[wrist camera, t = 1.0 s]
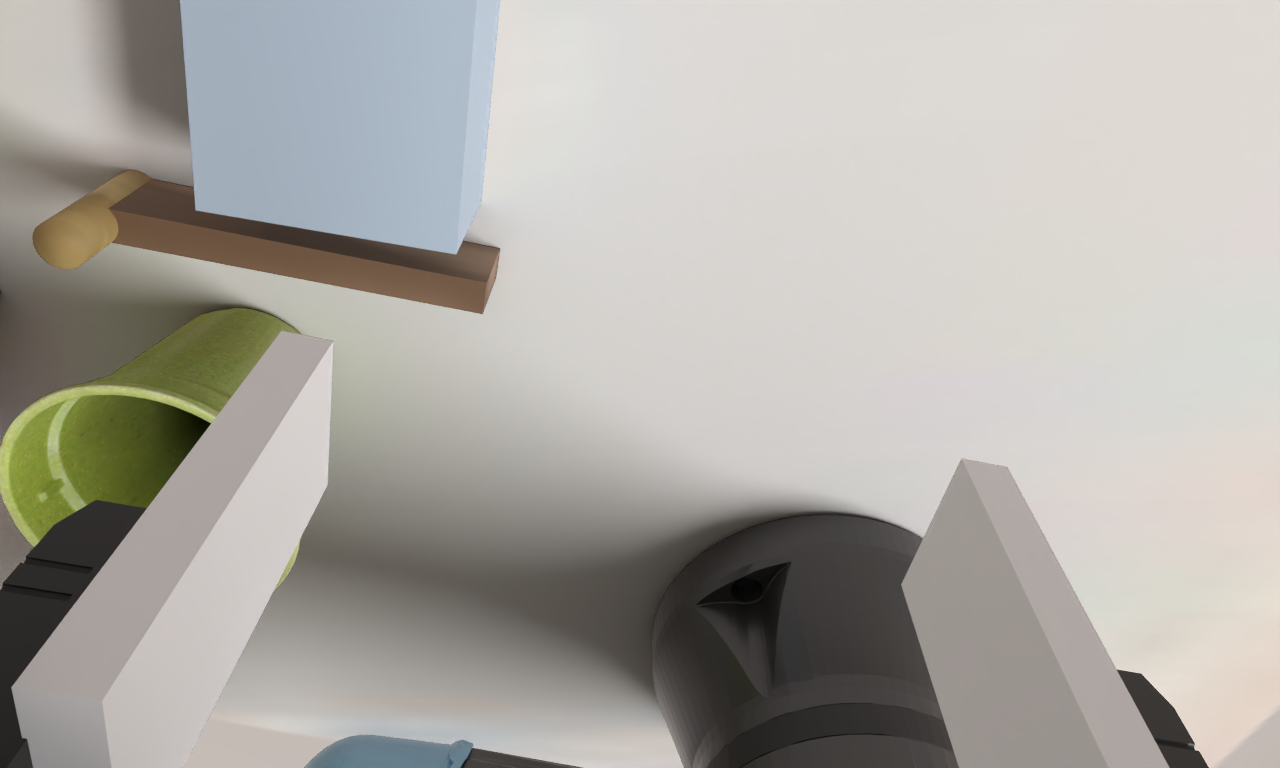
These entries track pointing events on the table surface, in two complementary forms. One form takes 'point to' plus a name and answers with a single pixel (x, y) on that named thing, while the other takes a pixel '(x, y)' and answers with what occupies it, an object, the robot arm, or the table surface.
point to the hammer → (260, 245)
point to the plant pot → (129, 422)
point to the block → (342, 113)
